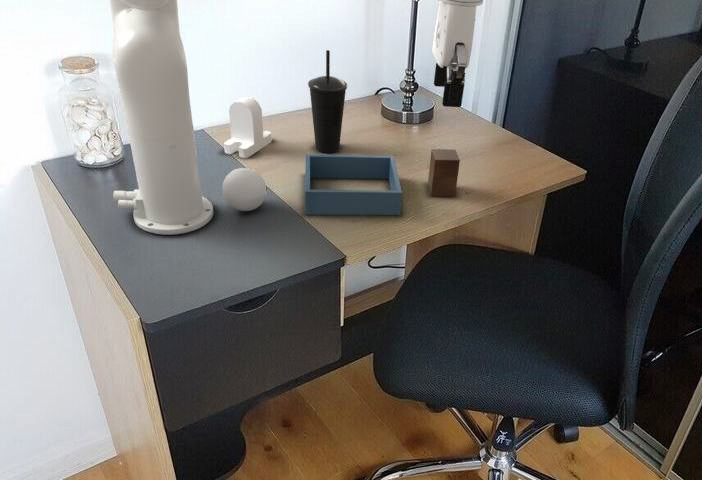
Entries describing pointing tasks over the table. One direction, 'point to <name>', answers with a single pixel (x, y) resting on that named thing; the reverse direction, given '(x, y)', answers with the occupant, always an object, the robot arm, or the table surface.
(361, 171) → the desk tub
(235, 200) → the white ball
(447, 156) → the walnut block
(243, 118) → the cable organizer
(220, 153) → the table surface
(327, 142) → the drinking cup
